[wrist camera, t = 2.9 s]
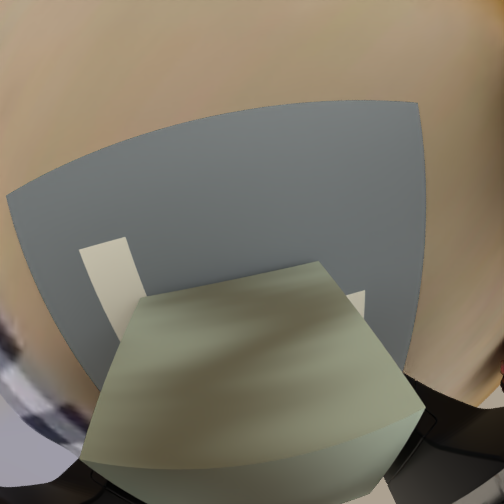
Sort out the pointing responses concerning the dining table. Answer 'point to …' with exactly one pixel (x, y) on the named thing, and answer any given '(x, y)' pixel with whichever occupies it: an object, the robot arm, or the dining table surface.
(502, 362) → the dragon fruit
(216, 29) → the dining table surface
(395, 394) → the sage block
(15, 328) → the dining table surface
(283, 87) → the dining table surface
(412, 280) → the board
